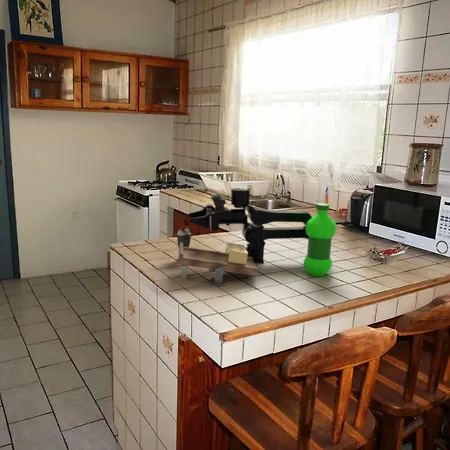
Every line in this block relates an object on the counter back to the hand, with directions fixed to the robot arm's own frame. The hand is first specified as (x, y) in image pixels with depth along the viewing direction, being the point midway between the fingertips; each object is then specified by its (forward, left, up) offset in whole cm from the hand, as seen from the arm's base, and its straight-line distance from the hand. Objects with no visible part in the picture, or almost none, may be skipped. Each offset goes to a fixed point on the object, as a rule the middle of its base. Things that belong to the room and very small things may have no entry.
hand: (188, 217), depth 167 cm
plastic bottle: (-45, +14, -17) cm, 50 cm away
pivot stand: (-4, +17, -16) cm, 24 cm away
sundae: (+2, -1, -17) cm, 17 cm away
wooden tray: (-9, +17, -12) cm, 23 cm away
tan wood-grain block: (-15, +17, -11) cm, 26 cm away
